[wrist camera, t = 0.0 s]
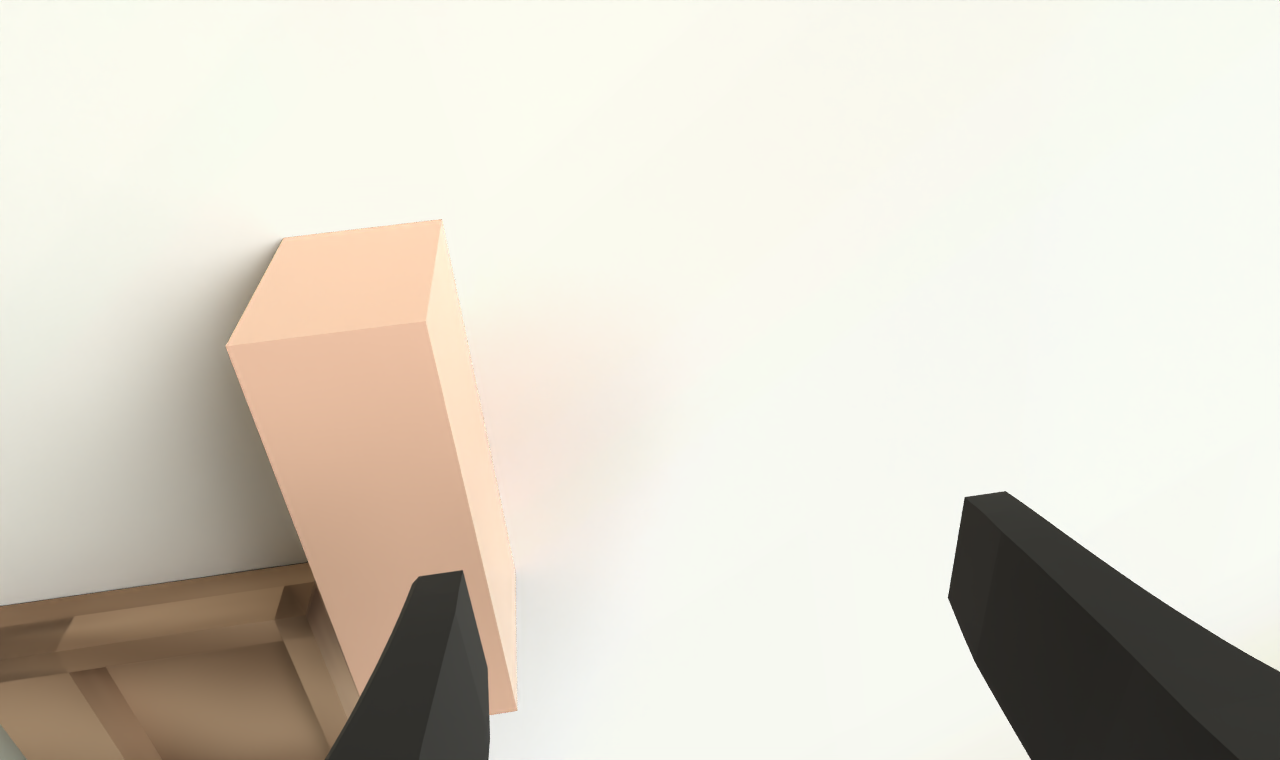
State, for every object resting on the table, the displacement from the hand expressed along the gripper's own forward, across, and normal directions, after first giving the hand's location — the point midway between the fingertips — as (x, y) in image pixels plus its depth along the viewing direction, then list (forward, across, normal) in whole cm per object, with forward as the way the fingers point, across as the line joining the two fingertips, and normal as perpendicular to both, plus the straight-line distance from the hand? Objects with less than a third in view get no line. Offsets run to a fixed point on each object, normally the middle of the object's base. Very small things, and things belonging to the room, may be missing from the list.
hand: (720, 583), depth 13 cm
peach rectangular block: (+10, +6, +4) cm, 12 cm away
